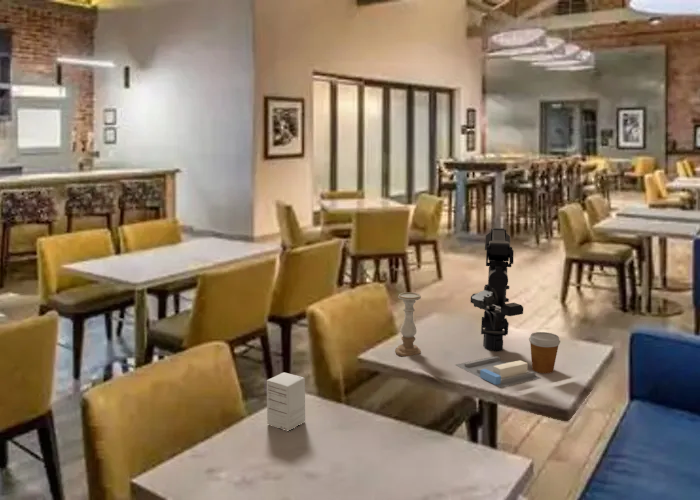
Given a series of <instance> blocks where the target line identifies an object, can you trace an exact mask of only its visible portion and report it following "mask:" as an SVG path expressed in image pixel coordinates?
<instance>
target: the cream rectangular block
mask: <svg viewBox="0 0 700 500" xmlns="http://www.w3.org/2000/svg"><path fill="white" fill-rule="evenodd" d="M509 362H510V363H507V362H506V363H505V364H501V365H496V366H493V373H496V374H498V375H500V376H501V379H502V378H507V377H511V376H515V375H520V374H524V373H527V372H528V366H529V365H528V362H525V361H523V360H521V359H520V360H515V361H509Z"/></svg>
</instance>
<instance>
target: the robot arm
mask: <svg viewBox="0 0 700 500" xmlns="http://www.w3.org/2000/svg"><path fill="white" fill-rule="evenodd" d="M484 240H485V241H484V251H485V254H486V257H485V266H486V267H488V274H487V275H488V276H487V277H488V278H487V284H485V285H484V289H483V290H482V291H479V292H477V293H476V292H475V293H472V295H471V296H470V304H473V307H474V308H478V309H480V310H483V311H484V312H483V316H481V325H480V326H481V327H480V335H483V341H482V343H483V344H482V346H483V348H484V349H485V350H487V351H494V352H502V351H503V349H504V339H503V338H504V337H506V336H507V335H509V324H510V323H509V321H508V319H507V317H513V316H519V315H520V316H521V315H524V306H523V305H522V304H520V303H516V302H511V303H510V302H509V301H510V299H509V298H508V297H507V290H510V285H508V284H509V275H508V268H511V267H512V265H514V249H513V247H512V246H511V236H510V234H508V233H507V229H506V228H499V227H493V228H490V232H489V233H487V234H486V235H485V239H484ZM506 316H507V317H506Z"/></svg>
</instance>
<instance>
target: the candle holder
mask: <svg viewBox="0 0 700 500" xmlns="http://www.w3.org/2000/svg"><path fill="white" fill-rule="evenodd" d="M421 297H422V296H421V294H420V293H416V292H407V291H406V292H401V293H399V294H398V296H397V298H398V299H399V300H402V302H403V304H404V308H403V312H404V320H403V322H402V324H401V327H400V333H401V335H402V336H401V337H400V338H401V341H402V344H400V345H398V346H397V347H395V349H394V353H395V354H396V355H397V356H400V357H410V356H416V355H421V353H422V350H421V348H419V346H417V345H416V344H414V342H415V340H416V337H415V335H416V334H417V331H418V330H417V326H416V325H415V322H414V312H415V311H416V310H415V308H414V304H415V303H416V301H418V300H421Z"/></svg>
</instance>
